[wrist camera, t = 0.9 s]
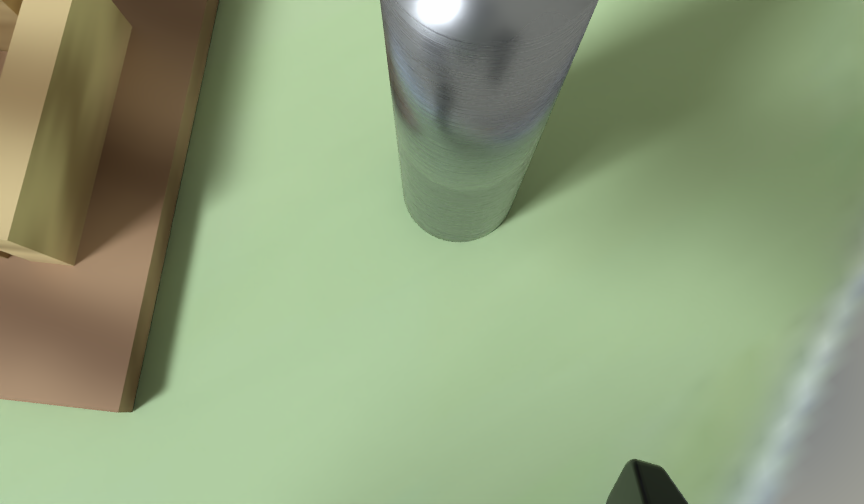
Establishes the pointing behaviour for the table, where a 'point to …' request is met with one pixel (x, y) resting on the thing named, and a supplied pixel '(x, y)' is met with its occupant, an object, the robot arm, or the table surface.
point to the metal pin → (474, 101)
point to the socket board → (90, 186)
